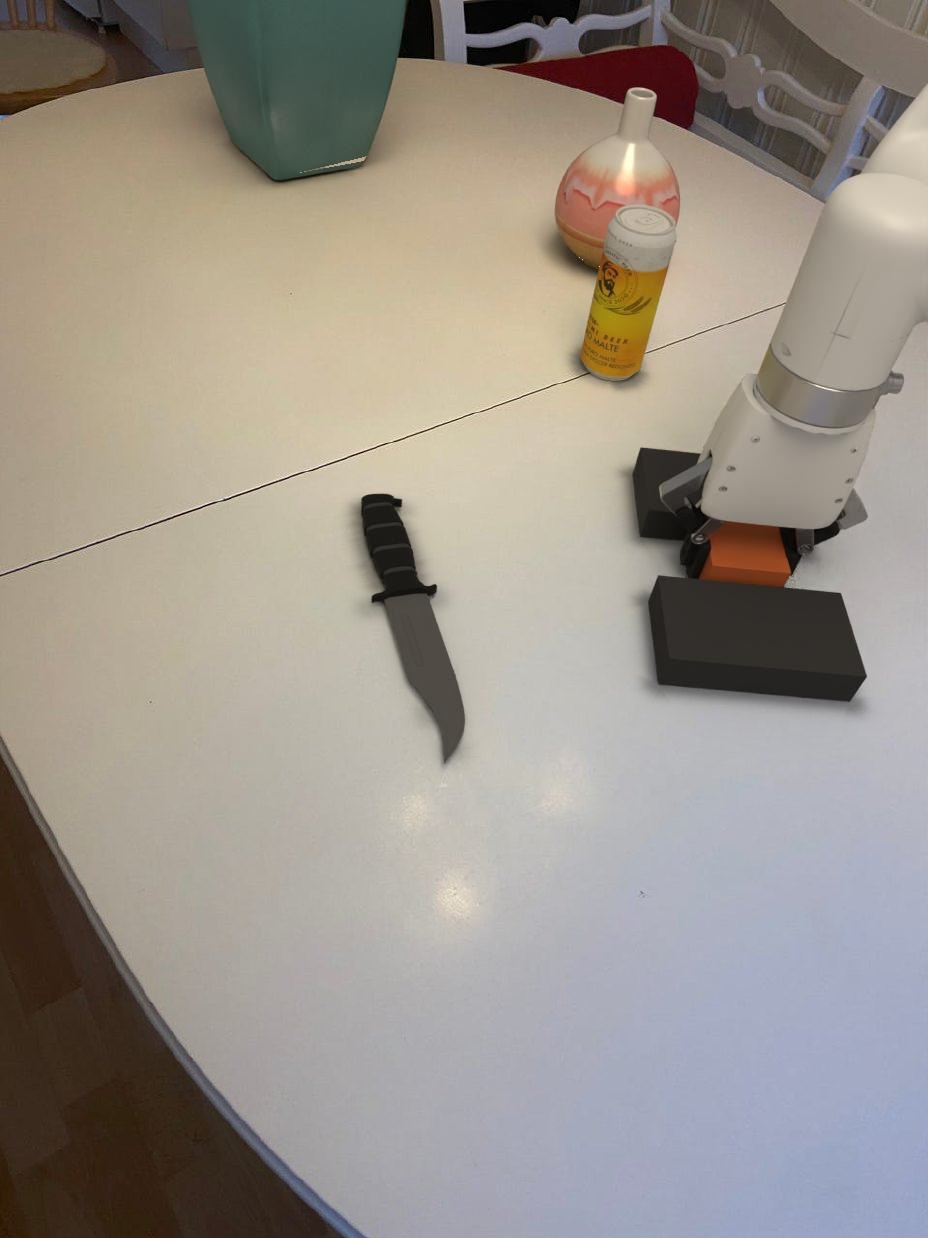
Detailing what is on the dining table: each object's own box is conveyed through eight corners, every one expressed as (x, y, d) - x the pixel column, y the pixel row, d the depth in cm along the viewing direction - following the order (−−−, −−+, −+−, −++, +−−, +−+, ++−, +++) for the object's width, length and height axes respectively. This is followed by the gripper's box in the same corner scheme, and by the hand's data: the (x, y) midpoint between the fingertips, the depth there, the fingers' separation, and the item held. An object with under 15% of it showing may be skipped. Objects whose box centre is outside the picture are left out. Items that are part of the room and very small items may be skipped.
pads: (788, 489, 82) (800, 463, 80) (849, 702, 67) (867, 676, 64) (632, 473, 81) (640, 446, 79) (658, 684, 66) (669, 658, 64)
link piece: (759, 554, 76) (776, 518, 73) (773, 608, 72) (791, 573, 69) (687, 547, 76) (702, 510, 73) (697, 601, 72) (712, 565, 69)
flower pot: (330, 113, 126) (327, -153, 105) (408, 173, 116) (422, -107, 95) (191, 135, 118) (157, -150, 96) (263, 202, 107) (242, -99, 86)
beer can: (566, 360, 92) (596, 211, 81) (608, 342, 95) (643, 196, 84) (610, 391, 89) (647, 241, 78) (652, 371, 92) (694, 224, 81)
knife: (497, 747, 59) (422, 762, 58) (494, 761, 60) (420, 775, 59) (404, 489, 75) (343, 496, 73) (403, 503, 76) (343, 511, 75)
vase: (522, 248, 106) (547, 80, 93) (602, 219, 113) (636, 59, 100) (609, 301, 100) (649, 130, 87) (688, 268, 107) (736, 104, 94)
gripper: (930, 363, 63) (826, 551, 77) (680, 335, 62) (620, 530, 76) (965, 430, 58) (847, 619, 72) (694, 401, 57) (627, 598, 71)
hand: (731, 572), depth 73 cm, fingers closed on link piece, 6 cm apart
